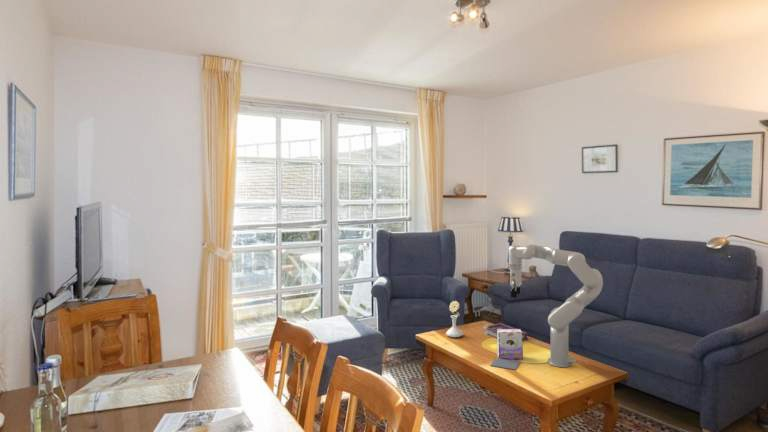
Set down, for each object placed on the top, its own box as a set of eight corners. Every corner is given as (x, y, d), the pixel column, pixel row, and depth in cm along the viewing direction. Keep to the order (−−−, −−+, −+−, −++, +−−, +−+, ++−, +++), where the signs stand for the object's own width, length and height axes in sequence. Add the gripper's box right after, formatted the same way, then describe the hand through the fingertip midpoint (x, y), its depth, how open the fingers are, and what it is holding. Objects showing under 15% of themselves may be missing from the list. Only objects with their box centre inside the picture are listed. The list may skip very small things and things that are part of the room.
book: (482, 333, 307) (482, 326, 306) (500, 329, 314) (500, 322, 314) (508, 344, 284) (508, 336, 284) (527, 340, 291) (527, 332, 291)
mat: (520, 362, 253) (520, 361, 253) (515, 370, 243) (515, 369, 243) (495, 358, 260) (495, 357, 260) (490, 366, 249) (490, 365, 249)
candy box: (521, 355, 263) (520, 328, 262) (523, 359, 257) (522, 331, 257) (497, 355, 265) (496, 328, 264) (498, 359, 259) (498, 331, 258)
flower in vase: (443, 334, 306) (442, 298, 304) (458, 332, 309) (457, 297, 308) (451, 340, 293) (450, 303, 292) (467, 338, 297) (466, 301, 295)
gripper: (518, 269, 250) (519, 299, 251) (524, 264, 265) (525, 292, 266) (505, 268, 253) (505, 298, 254) (512, 263, 269) (512, 291, 270)
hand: (515, 295), depth 260 cm, fingers open, 9 cm apart
